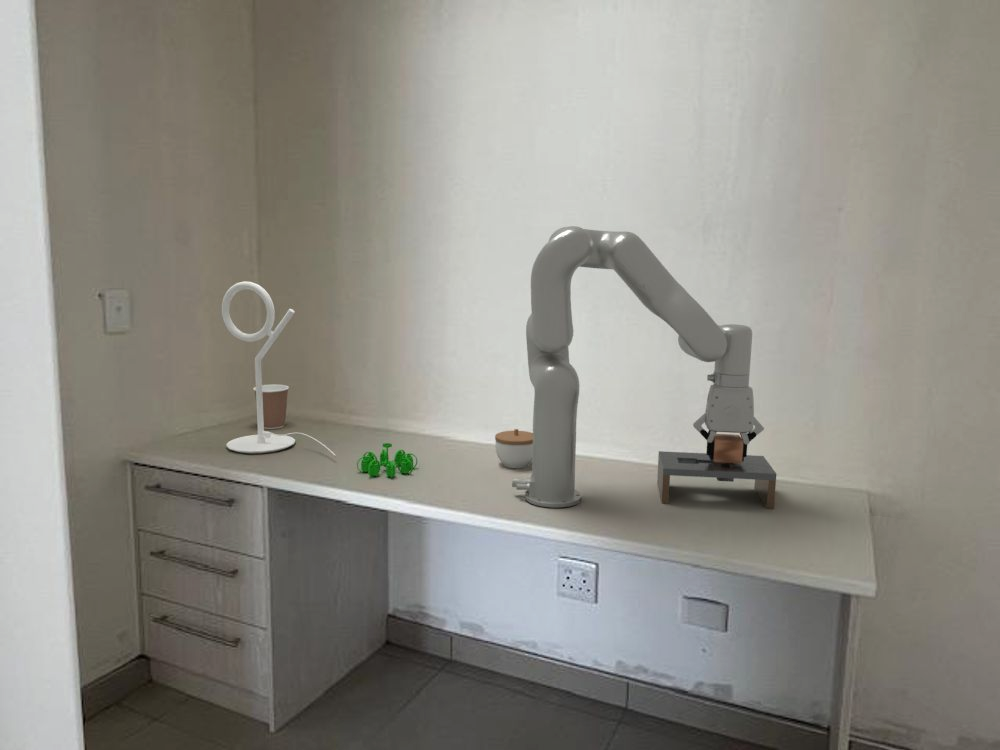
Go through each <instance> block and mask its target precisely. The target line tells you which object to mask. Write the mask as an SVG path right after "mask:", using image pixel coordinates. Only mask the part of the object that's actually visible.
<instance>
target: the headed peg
mask: <svg viewBox="0 0 1000 750" xmlns="http://www.w3.org/2000/svg"><path fill="white" fill-rule="evenodd" d="M743 443H744V441H743V440H742V439H741V435H740V434H733V433H732V434H731V433H730V434H729V433H727V434H726V433H716V435H715V437H714V457H713V461H714V462H721V464H730V463H742V456H743ZM716 480H717V482H729V483H730V482H735V481H734V480H735V478H716Z"/></svg>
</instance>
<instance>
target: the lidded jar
mask: <svg viewBox="0 0 1000 750" xmlns="http://www.w3.org/2000/svg"><path fill="white" fill-rule="evenodd" d="M494 439H495V452H496V455H497V457H498V459H499V461H500V462H501V463H502V464H503V466H504V467H506V468H509V469H523V468H527V467H528V465H529V464H530V463H531V462H532V457H533V432H530V431H524V430H519V428H514V429H513V430H505V431H499V432H497V433H496V434H495V435H494Z"/></svg>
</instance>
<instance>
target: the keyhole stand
mask: <svg viewBox="0 0 1000 750" xmlns="http://www.w3.org/2000/svg"><path fill="white" fill-rule="evenodd" d="M671 476H677V477H693V478H694V477H695V478H697V477H698V478H715V479H717V478H734V480H735V479H737V480H738V479H739V480H743V479H744V480H754V487H753V489H754V490H755V492H756V494H757V495H758V496H759V498H760V500H761V502H762V504H763V505H764V507H765V509H766V510H775V499H776V498H775V497H776V495H775V494H776V488H777V487H776V485H777V473H776V471H775V470H774V469H773V467H772V465H771V464H770V463H769V462H768V460H767V459H766V458H765V456H764V455H750V454H749V455H748V454H747V456H746V457H744V461H743V462H742V463H730V464H721V462H714V461H713V460H710V458H709V455H707V453H704V452H703V453H702V452H687V451H686V452H684V451H682V452H680V451H658V457H657V478H656V479H657V480H656V484H657V490H658V494H659V497H660V501H661V502H660V503H661V504H669V502H670V481H671V478H670V477H671Z"/></svg>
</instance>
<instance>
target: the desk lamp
mask: <svg viewBox="0 0 1000 750" xmlns="http://www.w3.org/2000/svg"><path fill="white" fill-rule="evenodd" d="M243 290H250V291H252V292H255V293H256V294H257V295H259V296H260V298H261V299H262V301H263V303H264V305H265V310H266V318H265V323H264V324H263V326H262V328H261V329H260V330H259V331H256V332H255V333H245V332H243V331H241V330H240V329H239V328H238V327H237V326H236V325H235V324H234V322H233V320H232V318H231V314H230V305H231V302H232V299H233V297H234V296H235V295H236V294H237V293H238V292H240V291H243ZM275 312H276V311H275V305H274V302H273V300H272V298H271V295H270V294H269V293H268V292H267V290H266V289H265V288H264V287H262V286H261V285H260V284H258V283H255V282H252V281H247V280H246V281H245V280H244V281H241V282H236V283H235V284H233V285H232V286H230V287H229V288H228V289H227V291H226V292H225V293H224V296H223V297H222V302H221V317H222V320H223V323H224V325H225V327H226V329H227V330H228V331H229V332H230V334H231V335H232V336H234V337H235V338H236V339H238V340H240V341H244V342H248V343H249V342H250V343H252V342H258V341H260V340H261V339H263V338H265V337H266V336H267V337H268V339H267V340H266V342H264V344H263V346H262V347H261V348H260V350H259V351H258V353H257V354H256V356H255V358H254V374H255V378H254V379H255V387H256V398H255V403H257V404H256V416H257V417H256V421H257V424H256V425H257V434H252V435H244V436H240V437H237V438H233V439H232V440H229V441H228V442H227V443H226V445H225V446H226V448H227V449H228V450H230V451H234V452H237V453H242V454H251V455H252V454H266V453H267V454H268V453H274V452H275V453H276V452H278V451H282V450H285V449H287V448H289V447H291V446H293V445H295V443H296V439H295V438H293V436H289V435H296V434H297V435H298V434H299V435H302V436H303V435H304V436H306V437H308V438H311V439H313V440H314V441H316V442H317V443H319V444H320V445H321V446H323V447H324V448H325V449H327V450H328V451H329V453H331V454H332V455H333V456H334V457H335V458H336V457H337V455H336V454H335V453H334V452H333V451H332V450H331V449H330V448H329V447H327V445H325V444H323V443H322V442H321V441H319V440H318V439H316V438H315V437H312V436H311V435H308V434H305V433H303V432H297V431H296V432H290V433H285V434H276V433H273V432H271V431H268V430H265V429H264V420H263V396H262V385H263V380H262V379H263V376H262V375H263V374H262V360H263V358H264V357H265V355H266V353H267V352H268V351H269V349H270V348H271V347H272V345H274V342H275V341H276V340H277V338H278V337H279V336H280V334H281V333H282V331H283V330H284V328H285V327H286V326H287V324H288V323H289V322H290V320H291V318H292V317H293V315H294V314H295V313H296V312H295V310H294V309H292V308H289V309H288V310H287V311H286V313H285V315H283V317H282V319H281V320H280V321H279V323H278V325H277V326H276V327H275V328H274V330H272V328H273V326H274V322H275V319H276V317H275V316H276V313H275Z"/></svg>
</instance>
